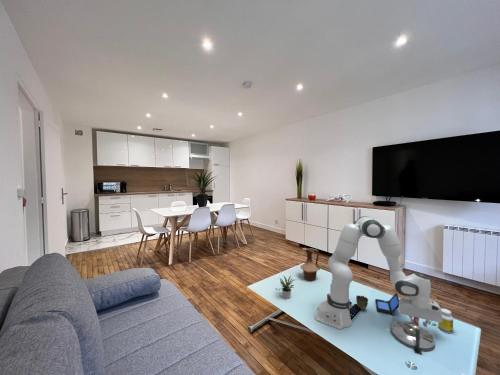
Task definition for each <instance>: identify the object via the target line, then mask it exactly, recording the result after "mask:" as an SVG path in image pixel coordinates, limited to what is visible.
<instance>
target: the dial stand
mask: <svg viewBox="0 0 500 375" xmlns="http://www.w3.org/2000/svg"><path fill="white" fill-rule="evenodd" d="M419 326H420V325H419ZM419 326H418V325H416V324H412V328H413V329H414V330H415V334H416V349H414V348H413V349H412V350H413V352H414V354H418V355H423V353H422V352H423V351H421V350H420V330H419Z"/></svg>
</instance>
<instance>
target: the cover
mask: <svg viewBox="0 0 500 375" xmlns="http://www.w3.org/2000/svg"><path fill="white" fill-rule="evenodd" d="M407 322H408V323H404V324H403V330H404V332H405V333H406V334H408V335H410V336H413V337H416V334H415V330H414V329H413V328H412V324H413V323H411V321H407Z"/></svg>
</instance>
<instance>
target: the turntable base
mask: <svg viewBox="0 0 500 375" xmlns="http://www.w3.org/2000/svg"><path fill="white" fill-rule="evenodd" d="M390 333H391V335H392V337H393V338H394V339H395V340H396V341H397V342H398V343H400V344H401V345H403V346H405V347H407V348H410V349H412V350H414V349H416V348H415V347H412V346H409V345H407V344H405V343H403V342H402V341H400V340H399V339H398V338H396V337H395V336H394V334H393V333H392V331H391V330H390ZM413 348H414V349H413ZM435 348H436V343H435V342H434V347H433V348H431V349H420V350H421V352H424V353H426V352H432V351H433V350H435Z"/></svg>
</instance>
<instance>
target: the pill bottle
mask: <svg viewBox="0 0 500 375" xmlns="http://www.w3.org/2000/svg"><path fill="white" fill-rule="evenodd" d="M441 313H442V322H441V323H439V322H437V323H438V325H437V326H438V328H439V330H441V332H443V333H447V334H452V333H453V332H454V318H453V316H452V311H451V310H449V309H446V308H441Z"/></svg>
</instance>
